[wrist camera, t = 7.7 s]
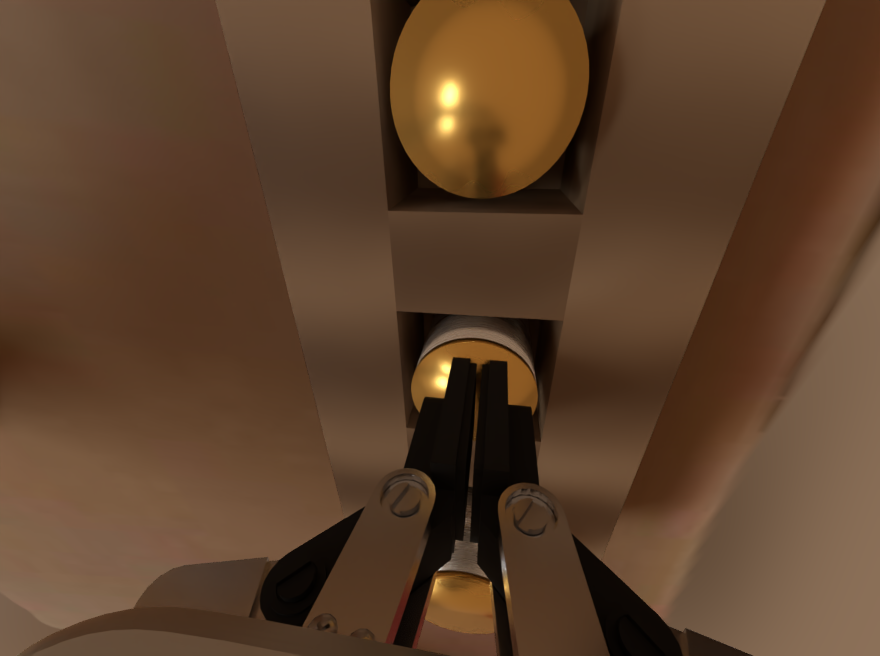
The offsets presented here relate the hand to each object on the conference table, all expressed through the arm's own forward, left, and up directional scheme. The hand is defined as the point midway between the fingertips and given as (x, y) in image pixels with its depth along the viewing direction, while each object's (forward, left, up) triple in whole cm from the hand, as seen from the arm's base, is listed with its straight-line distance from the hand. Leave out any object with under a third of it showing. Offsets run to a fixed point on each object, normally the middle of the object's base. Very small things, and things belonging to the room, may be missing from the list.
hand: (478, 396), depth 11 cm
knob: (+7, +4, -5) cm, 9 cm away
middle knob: (0, 0, -5) cm, 5 cm away
